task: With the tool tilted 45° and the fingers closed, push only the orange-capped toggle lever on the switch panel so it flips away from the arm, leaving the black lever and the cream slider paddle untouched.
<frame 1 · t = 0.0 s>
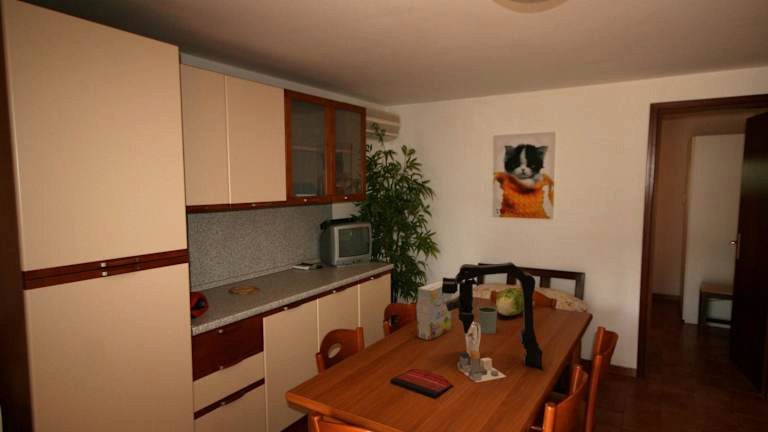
hand: (465, 329, 188), 15 cm above the table, tool pointing down, fingers open, 9 cm apart
panel: (482, 375, 177), on the table
slider: (486, 363, 180), point 3 cm above the table, slide at 0.0 cm
grey pot: (487, 332, 229), on the table
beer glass: (472, 357, 196), on the table
orange lever: (474, 364, 172), point 7 cm above the table, hinge at 0.0°
binder: (423, 385, 170), on the table
lettuce: (509, 316, 256), on the table
snack box: (434, 334, 226), on the table
black lever: (464, 360, 179), point 5 cm above the table, hinge at 0.0°
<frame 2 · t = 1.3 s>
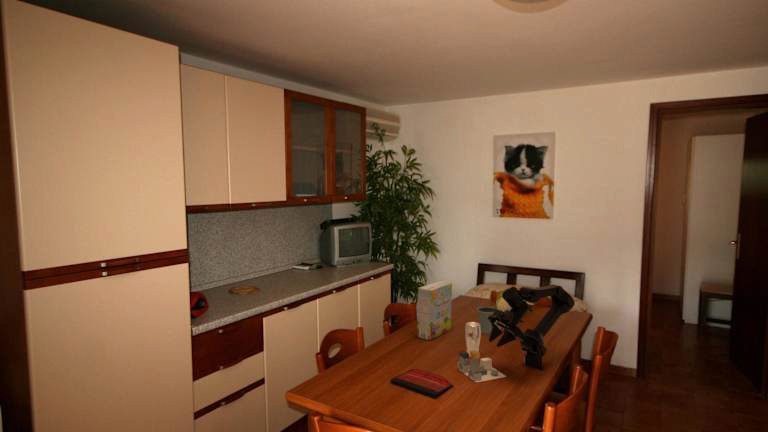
hand: (493, 344, 174), 14 cm above the table, tool tilted 45°, fingers open, 5 cm apart
nothing on the table moved.
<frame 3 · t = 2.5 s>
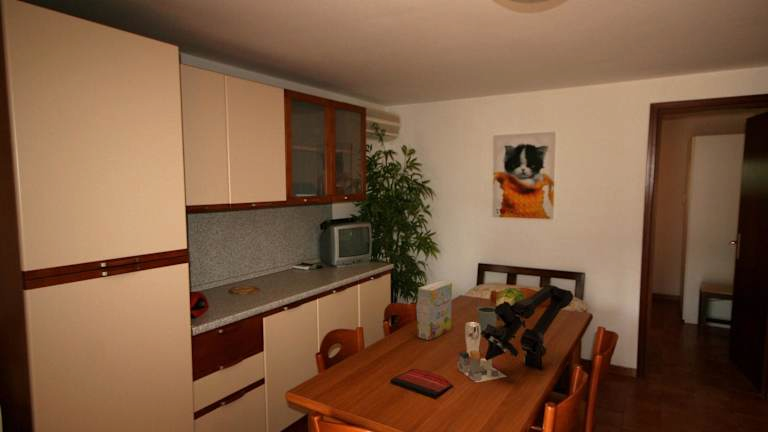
hand: (485, 359, 173), 8 cm above the table, tool tilted 45°, fingers closed
nothing on the table moved.
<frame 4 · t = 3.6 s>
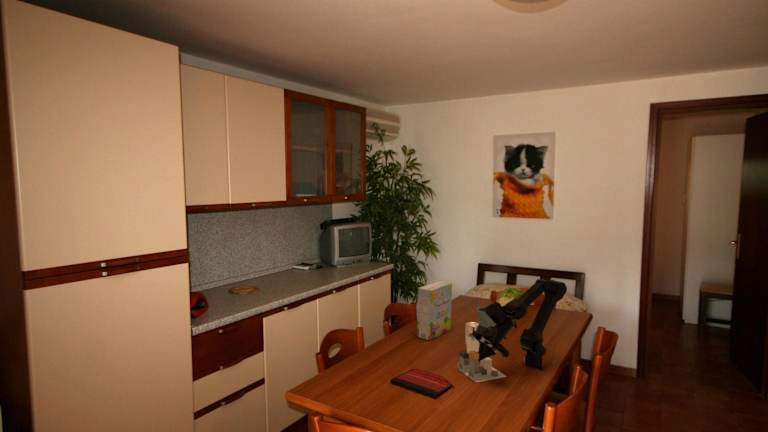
hand: (476, 360, 172), 8 cm above the table, tool tilted 45°, fingers closed, pressing on orange lever
orange lever: (474, 364, 172), point 7 cm above the table, hinge at 3.1°, touching gripper
everything else where it was.
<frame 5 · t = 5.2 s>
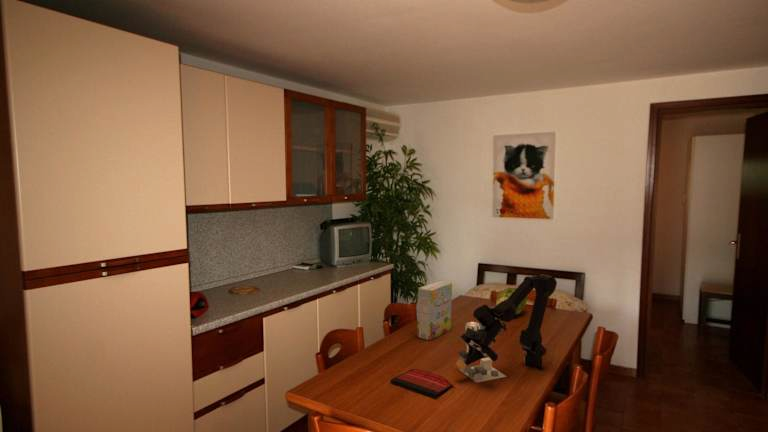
hand: (465, 364, 170), 7 cm above the table, tool tilted 45°, fingers closed
orange lever: (467, 369, 171), point 5 cm above the table, hinge at 51.0°
everything else where it was.
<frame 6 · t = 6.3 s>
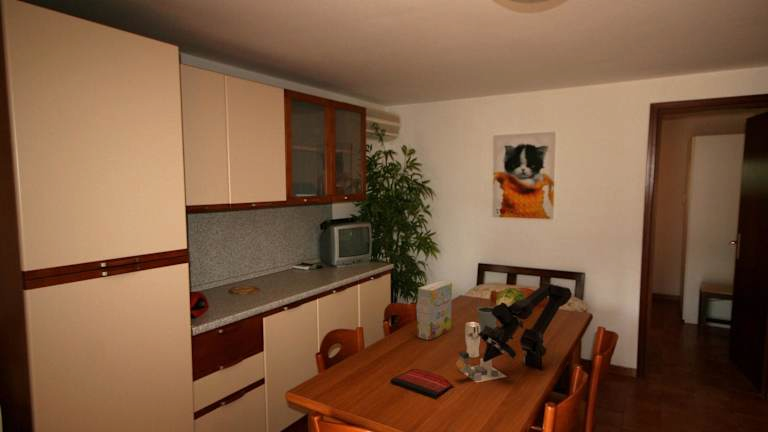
hand: (483, 361, 173), 7 cm above the table, tool tilted 45°, fingers closed
nothing on the table moved.
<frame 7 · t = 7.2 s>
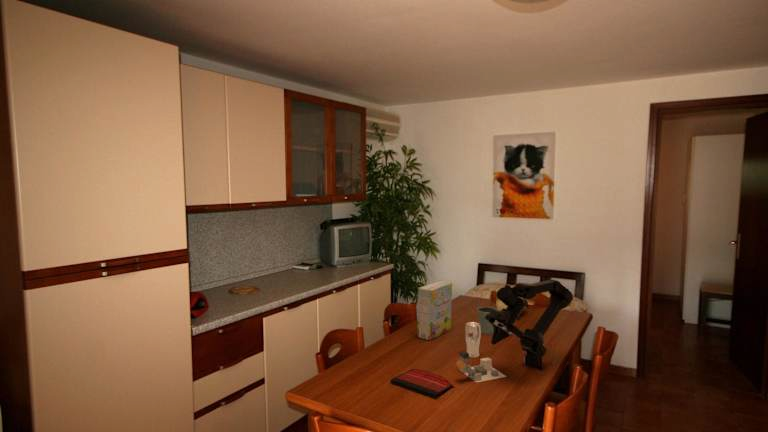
hand: (492, 344, 174), 14 cm above the table, tool tilted 40°, fingers closed
nothing on the table moved.
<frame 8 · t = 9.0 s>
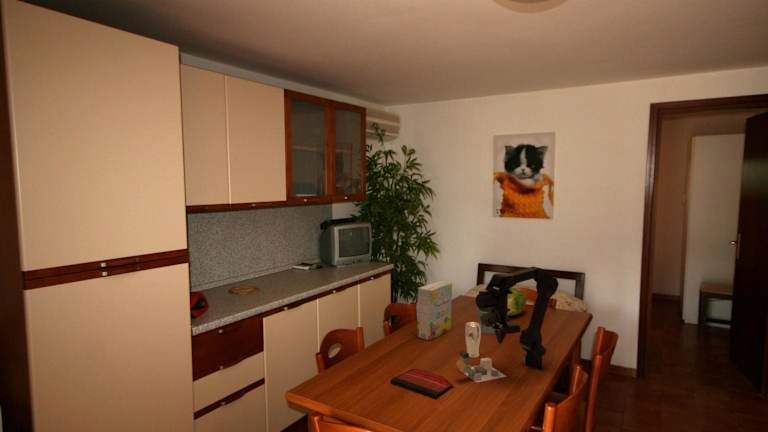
hand: (499, 343, 176), 13 cm above the table, tool pointing down, fingers closed
nothing on the table moved.
at the end: orange lever at +51° (first picture: +0°); black lever at +0° (first picture: +0°); slider slide at 0.0 cm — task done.
